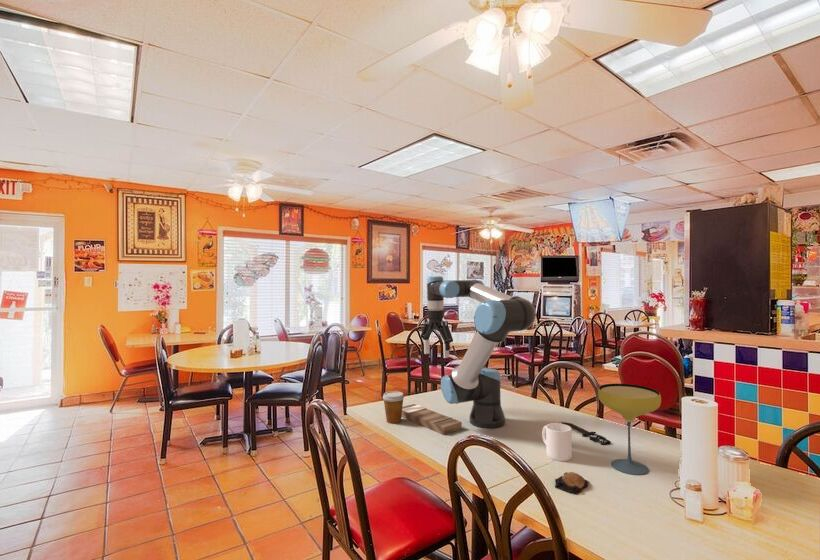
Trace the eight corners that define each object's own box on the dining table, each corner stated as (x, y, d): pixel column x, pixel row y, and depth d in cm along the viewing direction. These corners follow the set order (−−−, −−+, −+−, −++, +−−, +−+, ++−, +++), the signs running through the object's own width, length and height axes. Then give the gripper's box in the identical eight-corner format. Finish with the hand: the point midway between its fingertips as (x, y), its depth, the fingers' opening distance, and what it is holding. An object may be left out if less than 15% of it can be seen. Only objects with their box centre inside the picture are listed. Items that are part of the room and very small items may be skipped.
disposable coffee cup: (405, 417, 185) (405, 391, 185) (403, 425, 176) (402, 397, 176) (384, 417, 186) (384, 390, 186) (381, 424, 177) (380, 396, 177)
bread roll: (564, 475, 130) (564, 464, 130) (592, 484, 124) (591, 472, 124) (550, 488, 122) (550, 476, 122) (579, 498, 116) (578, 485, 117)
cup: (558, 463, 137) (558, 433, 137) (534, 450, 148) (533, 422, 148) (577, 458, 141) (576, 429, 141) (551, 446, 152) (551, 418, 152)
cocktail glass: (598, 452, 146) (596, 381, 145) (656, 459, 139) (655, 385, 139) (600, 474, 129) (599, 395, 129) (667, 485, 122) (666, 400, 122)
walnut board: (461, 429, 170) (461, 421, 170) (443, 435, 164) (443, 427, 164) (414, 410, 195) (413, 403, 195) (396, 414, 189) (396, 407, 189)
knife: (558, 423, 176) (558, 420, 176) (571, 422, 177) (571, 419, 177) (598, 447, 151) (598, 443, 151) (613, 445, 152) (613, 441, 152)
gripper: (460, 310, 183) (461, 358, 183) (424, 308, 203) (425, 351, 203) (448, 311, 178) (448, 360, 178) (412, 308, 198) (413, 352, 198)
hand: (436, 355), depth 190 cm, fingers open, 13 cm apart
